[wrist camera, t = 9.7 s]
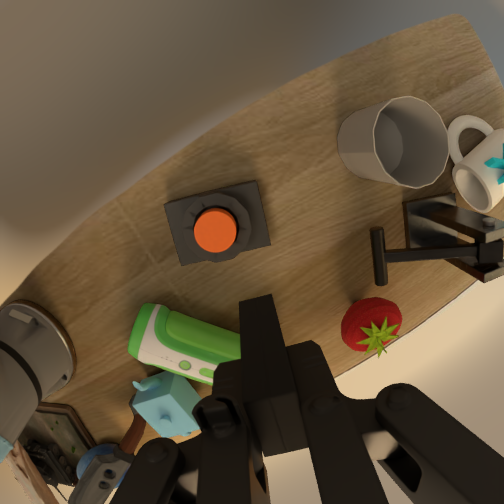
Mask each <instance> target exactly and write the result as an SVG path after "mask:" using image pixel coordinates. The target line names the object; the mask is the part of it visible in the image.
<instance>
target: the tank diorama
mask: <svg viewBox="0 0 504 504" xmlns="http://www.w3.org/2000/svg"><path fill="white" fill-rule="evenodd" d="M17 440H18V441H19V443H20V444H21V446H22V447H23V448H24V449H25V451H26V452H27V454H28V456H29V457H30V459H31V461H32V462H33V464H34V465H35V467H36V468H37V470H38V471H39V473H40V474H41V476H42V478H43V480H44V481H45V482H46V484H50V485H52V486H54V487H55V488H56V489H57V490H58V488H57V486H58V483H60V484H64V485H68V486H72V487H74V486H76V485H77V483H78V481H79V479H78V477H77V465H78V463H79V461H80V459H81V457H82V456H83V455H84V454H85V453H86V452H87V451H89V450H90V449H92V448H93V447H95V446H96V445H95V443H94V442H93V440H92V439H91V437H90V436H89V434H88V433H87V431H86V430H85V428H84V427H83V425H82V423H81V422H80V420H79V419H78V417H77V415H76V414H75V412H74V410H73V409H72V408H71V407H69V406H67V405H59V404H49V403H41V402H40V404H39V405H38V407H37V408H36V410H35V411H34V413H33V415H32V416H31V418H30V419H29V421H28V423H27V424H26V426H25V428H24V429H23V431H22V433H21V434H20V436H19V438H18V439H17ZM72 484H73V485H72ZM58 492H59V493H60V494H61V492H60V491H59V490H58ZM61 495H62V494H61ZM62 497H63V498H64V499H65V497H64V496H63V495H62ZM65 500H66V499H65Z"/></svg>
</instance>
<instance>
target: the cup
mask: <svg viewBox="0 0 504 504" xmlns="http://www.w3.org/2000/svg"><path fill="white" fill-rule="evenodd" d="M337 142H338V153H339V155H340V157H341V159H342V161H343V162H344V164H345V166H346V168H347V169H349V170H350V171H351V172H353V173H354V174H355V175H357V176H358V177H360V178H365V179H370V180H375V181H381V182H386V183H391V184H396V185H400V186H405V187H410V188H415V189H418V188H421V187H424V186H427V185H430V184H433V183H434V182H435V181H436V180H437V178H438V177H439V176H440V175H441V174H442V173H443V172H444V170H445V167H446V164H447V160H448V157H449V154H450V150H449V137H448V132H447V129H446V127H445V125H444V123H443V121H442V118H441V116H440V115H439V114H438V113H437V112H436V111H435V110H434V109H433V108H432V107H431V106H430V105H429V104H428V103H427V102H426V101H424V100H421V99H418V98H415V97H412V96H403V97H398V98H393V99H390V100H387V101H384V102H381V103H378V104H375V105H372V106H370V107H367V108H364V109H361V110H359V111H356V112H353V113H352V114H351V115H350V116H349V117H348V118H347V119H345V120H344V121H343V122H342V125H341V127H340V130H339V133H338V136H337Z"/></svg>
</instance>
